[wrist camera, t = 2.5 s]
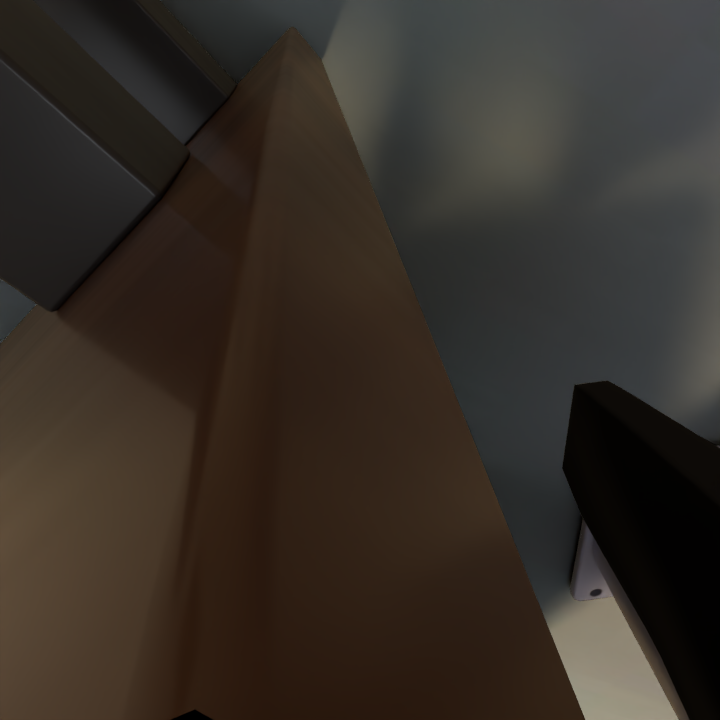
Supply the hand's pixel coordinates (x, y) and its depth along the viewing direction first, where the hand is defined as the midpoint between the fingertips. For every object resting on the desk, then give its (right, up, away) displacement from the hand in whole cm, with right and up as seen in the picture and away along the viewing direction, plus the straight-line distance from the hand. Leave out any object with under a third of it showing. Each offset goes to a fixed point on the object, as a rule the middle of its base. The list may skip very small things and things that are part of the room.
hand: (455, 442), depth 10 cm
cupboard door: (-13, +4, +4) cm, 14 cm away
